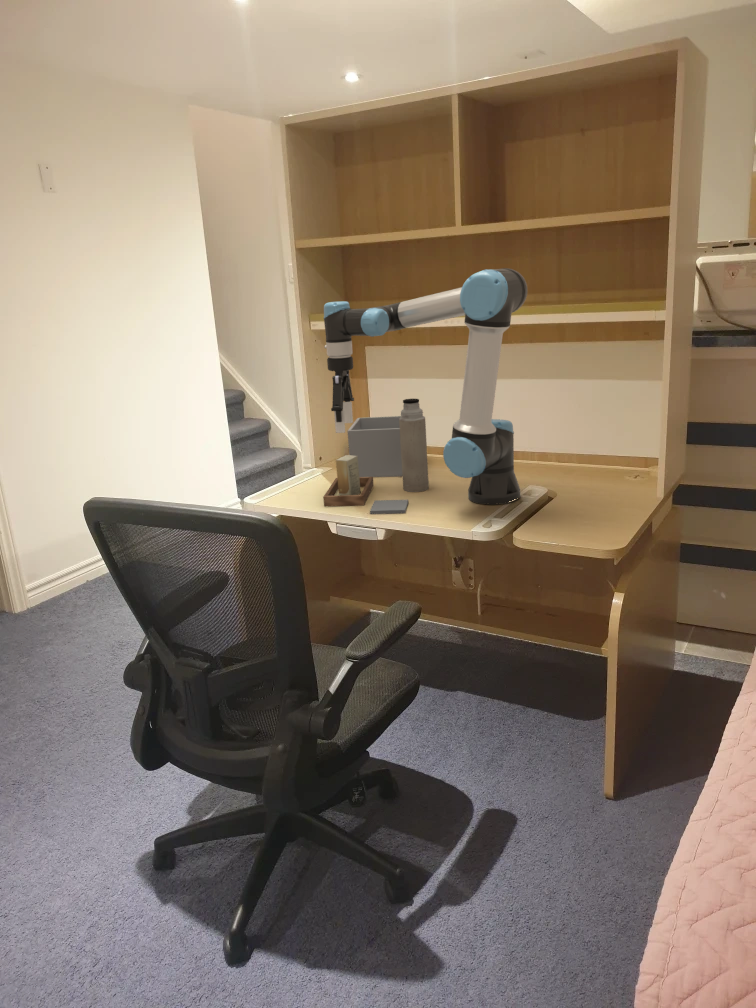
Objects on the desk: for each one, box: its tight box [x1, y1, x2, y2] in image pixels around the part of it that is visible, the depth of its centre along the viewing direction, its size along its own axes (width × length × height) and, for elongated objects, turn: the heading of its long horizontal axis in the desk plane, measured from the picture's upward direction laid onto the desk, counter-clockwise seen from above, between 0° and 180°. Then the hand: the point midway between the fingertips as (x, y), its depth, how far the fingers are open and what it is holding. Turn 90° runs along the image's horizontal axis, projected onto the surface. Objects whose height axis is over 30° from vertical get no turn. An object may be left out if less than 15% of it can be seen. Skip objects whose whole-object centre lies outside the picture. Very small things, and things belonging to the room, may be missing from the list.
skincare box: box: [335, 454, 362, 496], centre depth 237 cm, size 6×4×12 cm
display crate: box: [347, 415, 403, 478], centre depth 266 cm, size 22×22×16 cm
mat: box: [369, 499, 409, 515], centre depth 224 cm, size 10×10×1 cm
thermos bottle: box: [399, 398, 430, 493], centre depth 238 cm, size 8×8×28 cm
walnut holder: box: [322, 477, 374, 507], centre depth 239 cm, size 12×21×3 cm, turn 173°
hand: (344, 427), depth 233 cm, fingers open, 13 cm apart
